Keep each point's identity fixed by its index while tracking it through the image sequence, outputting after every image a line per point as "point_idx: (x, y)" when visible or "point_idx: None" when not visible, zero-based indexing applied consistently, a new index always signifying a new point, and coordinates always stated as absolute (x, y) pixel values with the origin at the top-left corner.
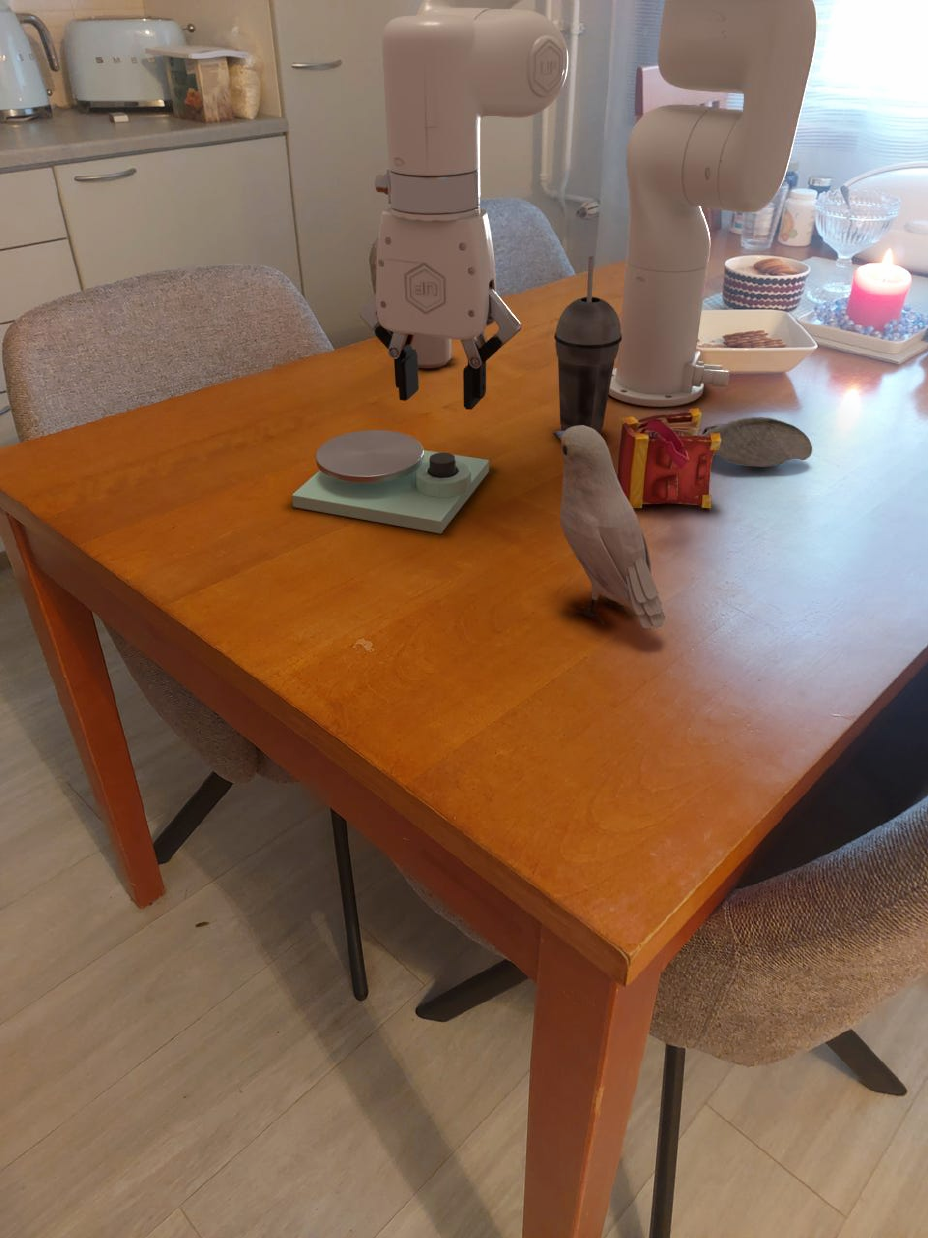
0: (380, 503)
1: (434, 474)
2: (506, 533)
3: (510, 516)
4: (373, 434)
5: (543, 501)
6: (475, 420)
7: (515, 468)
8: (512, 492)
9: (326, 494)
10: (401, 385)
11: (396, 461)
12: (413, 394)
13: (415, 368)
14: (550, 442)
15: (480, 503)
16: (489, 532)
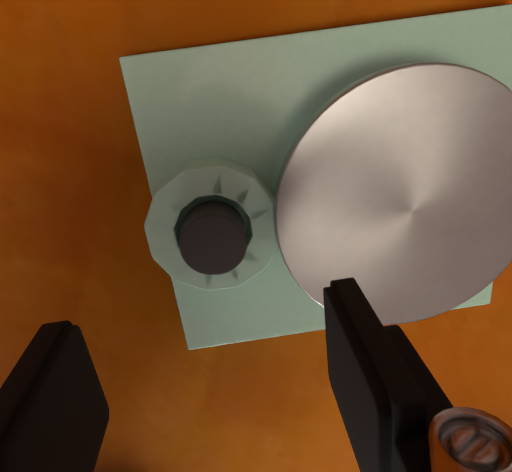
0: (299, 69)
1: (217, 202)
2: (3, 132)
3: (44, 201)
4: (441, 290)
5: (26, 284)
6: (314, 469)
7: (153, 365)
8: (102, 287)
9: (444, 46)
10: (358, 310)
11: (324, 196)
12: (326, 338)
13: (354, 436)
14: (153, 462)
15: (131, 220)
16: (37, 118)
